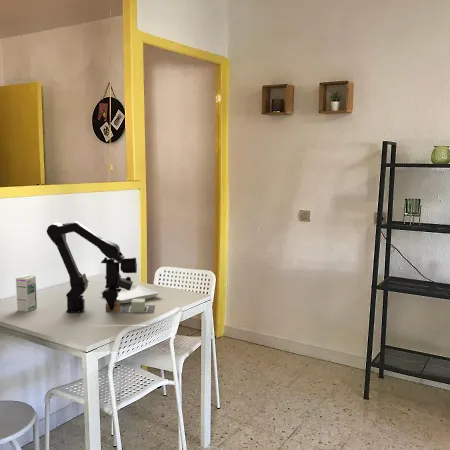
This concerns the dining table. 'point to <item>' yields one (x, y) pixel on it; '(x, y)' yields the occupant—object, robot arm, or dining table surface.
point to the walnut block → (116, 306)
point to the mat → (148, 310)
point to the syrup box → (26, 293)
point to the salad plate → (135, 294)
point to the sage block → (138, 305)
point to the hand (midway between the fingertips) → (112, 308)
